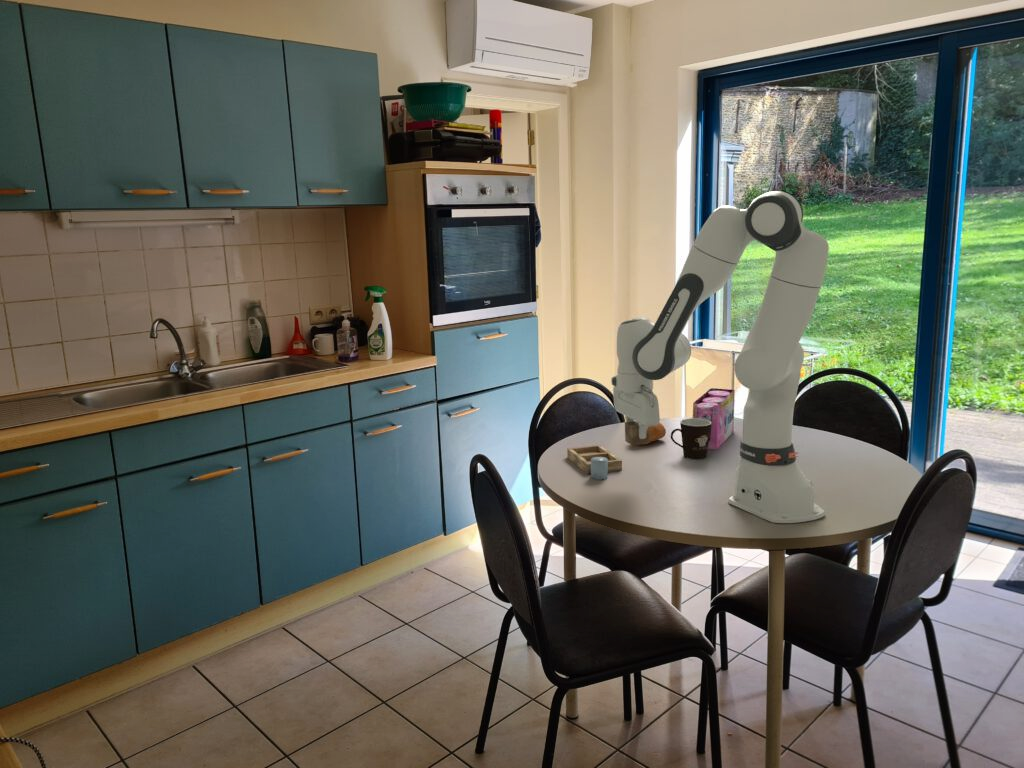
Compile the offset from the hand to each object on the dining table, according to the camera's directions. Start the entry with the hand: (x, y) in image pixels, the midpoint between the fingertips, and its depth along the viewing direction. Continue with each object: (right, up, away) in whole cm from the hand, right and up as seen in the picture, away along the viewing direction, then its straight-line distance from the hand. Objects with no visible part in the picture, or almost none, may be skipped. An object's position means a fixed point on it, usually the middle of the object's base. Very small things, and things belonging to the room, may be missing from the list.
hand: (636, 435), depth 197 cm
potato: (+9, -5, +38) cm, 40 cm away
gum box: (+30, -4, +40) cm, 50 cm away
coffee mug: (+19, -8, +23) cm, 31 cm away
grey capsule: (-9, -12, +7) cm, 16 cm away
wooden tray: (-9, -9, +19) cm, 23 cm away
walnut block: (0, -2, 0) cm, 2 cm away
